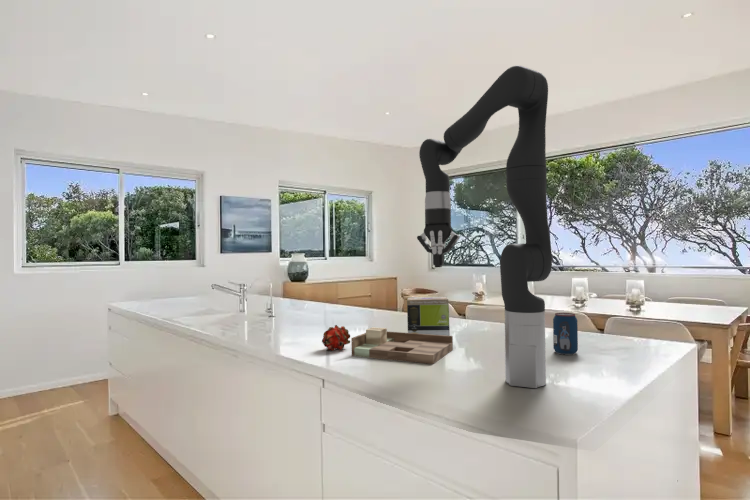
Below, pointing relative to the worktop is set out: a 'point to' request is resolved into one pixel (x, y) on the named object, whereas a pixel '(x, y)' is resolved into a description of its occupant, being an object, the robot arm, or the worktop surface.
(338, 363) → the worktop surface
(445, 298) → the tea box
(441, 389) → the worktop surface
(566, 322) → the soda can
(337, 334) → the dragon fruit
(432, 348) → the trap board
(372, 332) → the birch block
